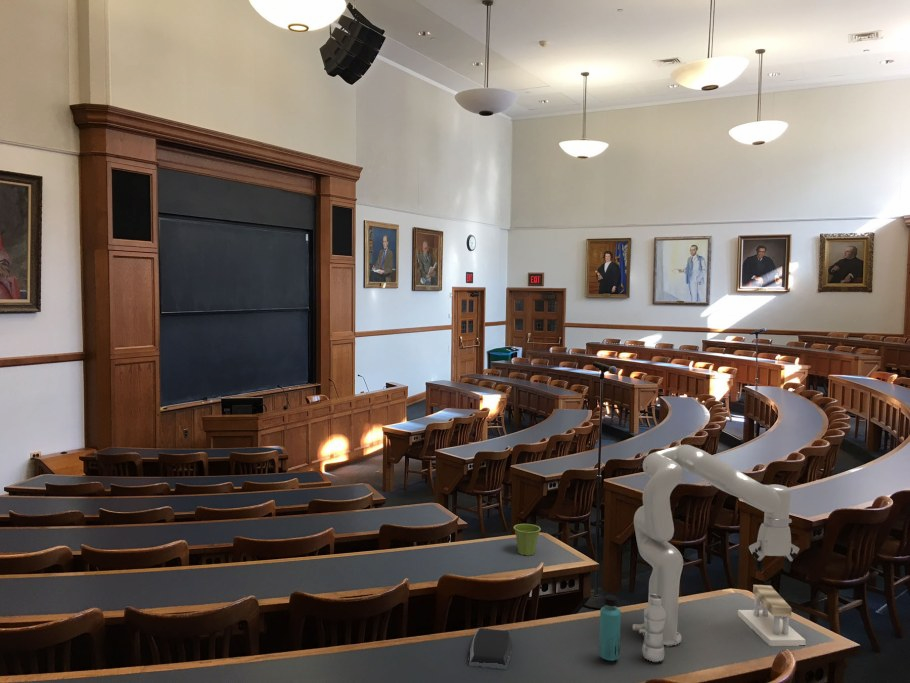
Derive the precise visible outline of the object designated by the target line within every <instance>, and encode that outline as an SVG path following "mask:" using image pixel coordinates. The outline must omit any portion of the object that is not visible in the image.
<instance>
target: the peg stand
mask: <svg viewBox="0 0 910 683" xmlns="http://www.w3.org/2000/svg"><path fill="white" fill-rule="evenodd" d="M753 602H754V603H753V609H738V610H737V616H738V617H739V618H740V619H741V620H742V621H743V622H744V623H745V624H746V625H747V626H749V628H750V629H751V630H752V631H753V632H755V633H756V634H757V636H759V637H760V638H761V639H762V640H763V641H764V642H765V643H766V644H767V645H768V646H770V647H800V646H799V645H805V646H806V643H807V642H806V639H805V638H804V637H803V636H801V634H799V633H798V632H797V631H796V630H795V629H793V628H792V627H791V626H790V625H789V624H790V617H783V616H782V618H781V616H772V615H771V614H770V613H769V611H768V610H767V609H766V608H765V607H764V605H763V604H762V609H760V607H761V602H760V601H759V600H758V598H757V597H756V596H755V595H754V599H753Z"/></svg>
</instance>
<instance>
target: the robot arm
mask: <svg viewBox="0 0 910 683" xmlns="http://www.w3.org/2000/svg"><path fill="white" fill-rule="evenodd" d="M642 469H643V472H644V473H645V475H646V476H647V477H649V478H650V479H649V480H648V482H647V483H646V485H645V486H644V488H643V492H642V504H643V505H642V506H640V507H638V508H637V510H636V511H635V513H634V516H633V527H634V531H635V537H636V543H637V549H638V552H639V554H640V556H641V558H642V559H643V560H644V561H645V562H647V563H648V564H649V565H650V566H651V567H652V571H651V575H650V578H649V581H648V602H647V605H648V604H649V596H650V595H652V594H655V595H659V596H661V597H662V604H661V606H662V607H663V609H664V611H665V614H666V618H665V623H664V630H663V645H671V646H670V647H673V646H672V645H675V646H678V645H679V643H680V644H681V643H682V639H683V638H682V635H681V634H680V632H678V617H679V616H678V615H679V597H680V596H679V594H680V580H681V575H682V571H683V566H684V559H683V556H682V554H681V552H680V551H679V550H678V549H677V548H676V546H674V545H673V544H672V543H670V542H669V541H670V540H672V538H673V537H674V533H675V526H674V521H673V514H672V510H671V499H670V497H671V494H672V492H673V490H674V489H675V488H676V487H677V486H678V484H679V483H680V482H681V480H682V478H683V470H684V471H686V472H688V473H691V474H692V475H694V476H696V477H697V478H699V479H701V480H703V481H705V482H706V483H707V484H710V485H712V486H713V487H715V488H717V489H719V490H720V491H722V492H725V493H727V494H729V495H731V496H734V497H736V498H739V499H741V500H742V501H743V502H744V503H745V504H747V505H750V506H752V508H753V507H754V508H756V509H758V510H760V511H762V512H764V516H763V523H761V524H760V526H759V529H758V533H757V540H756V542H754V543H752V544H750V545H749V546H748V549H749V551H750V554H751V555H752V556H753V557H754V559H755V561H754V568H755V570H756V571H758V573H763V566H764V563H763V562H764V561H763V559H764V558H765V557H766V556H769V557H774V556H775V557H783V560H782V570H783V571H784V572H785V573H788V574H789V573H790V571H791V567H792V562H793V560H794V559H795V558H796V557H797V555H798V553H799V551H800V547H798V546H796V545H795V544H793V543H792V535H791V534H792V533H791V528H790V523H792V522H793V520H792V519H791V518H790V505H791V489H790V488H789V487H788V486H785V485H781V484H763V483H761V482H759V481H757V480H756V479H753V478H752V477H750V476H748V475H747V474H745V473H743V472H741V471H740V470H738V469H737V468H734V467H733V466H732V465H729V464H728V463H726V462H725V461H722V460H721V459H719V458H717V457H715V456H714V455H712V454H710V453H709V452H706V451H705V450H703V449H700V448H698V447H695V446H694V445H690V444H680V445H676V446H673V447H669V448H665V449H662V450H657V451H655V452H651V453H650V454H648V455H647V456H646V457H645V458H644V460H643V461H642ZM756 550H757V552H756ZM643 622H644V623H641V624H638V623H633V624H632V631H638V633H639V634H642V633H643V635H644V636H645V621H644V620H643ZM677 644H678V645H677Z"/></svg>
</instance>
